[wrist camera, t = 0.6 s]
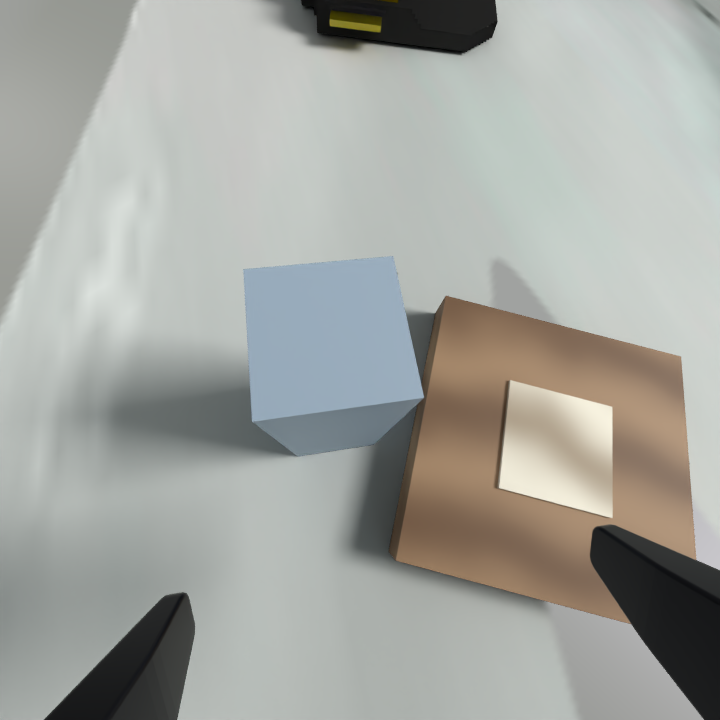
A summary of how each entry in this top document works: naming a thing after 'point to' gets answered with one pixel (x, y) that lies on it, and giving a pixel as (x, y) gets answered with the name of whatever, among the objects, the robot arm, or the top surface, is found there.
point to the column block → (329, 353)
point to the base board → (540, 455)
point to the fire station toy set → (409, 21)
